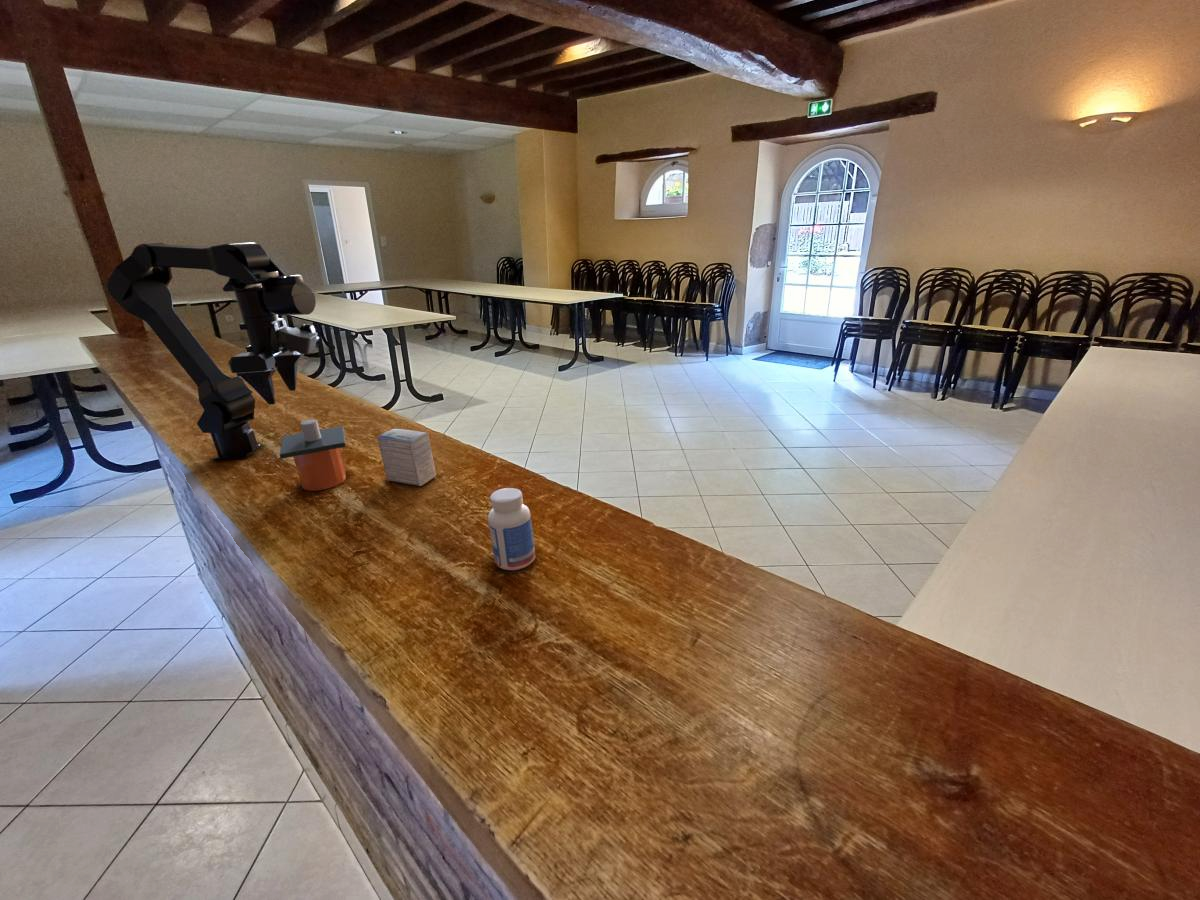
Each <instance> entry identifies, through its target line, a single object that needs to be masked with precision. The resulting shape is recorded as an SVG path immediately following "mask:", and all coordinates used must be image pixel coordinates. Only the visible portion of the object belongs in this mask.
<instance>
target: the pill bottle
mask: <svg viewBox="0 0 1200 900" xmlns="http://www.w3.org/2000/svg"><path fill="white" fill-rule="evenodd" d="M489 498H490V506H491V508H492V509H491V510H490V511H489V512H488V516H487V521H488V528H489V532H490V533H489V534H490V539H491V546H492V553H493V559H494V562H495V564H496V566H497V567H498V568H500V569H502V570H506V571H517V570H521V569H524V568H526V567H528V566H530V565H531V564H532V563H533V562H534V560H535V558H536V550H535V542H534V533H533V526H532V519H531V511H530V508H529V506H527V505H525V504H524V499H523V493H522V491H521V490H520V489H519V488H514V487H505V488H500V489H497V490H495V491H493V492H492V493H491V494H490V497H489Z"/></svg>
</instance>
